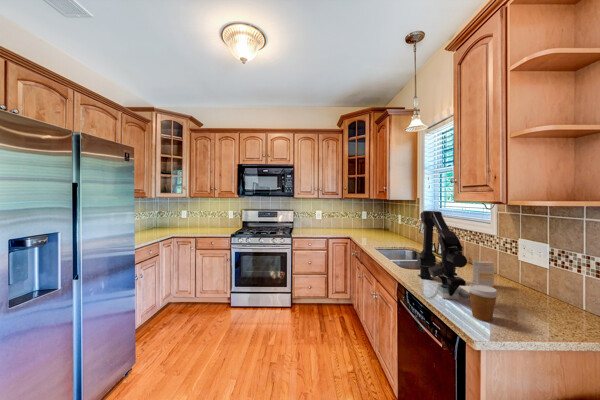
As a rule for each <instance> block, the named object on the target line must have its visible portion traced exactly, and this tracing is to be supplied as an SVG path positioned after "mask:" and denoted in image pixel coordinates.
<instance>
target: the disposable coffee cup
mask: <svg viewBox="0 0 600 400" xmlns="http://www.w3.org/2000/svg"><path fill="white" fill-rule="evenodd" d="M468 285H469V287H468V290H469V292H470V305H471V306H470V307H471V314H472V315H471V316H472V317H473V318H474V317H475V319H476V318H477V319H476V320H478V319H479V321H481V320H482V322H486V321H487V322H492V321H493V319H494V318H493V317H494V313H495V307H496V301H497V297H498V296H499V293H498V291H497V289H496V288H494V287H490V286H487V285H482V284H473V283H470V284H468Z"/></svg>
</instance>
